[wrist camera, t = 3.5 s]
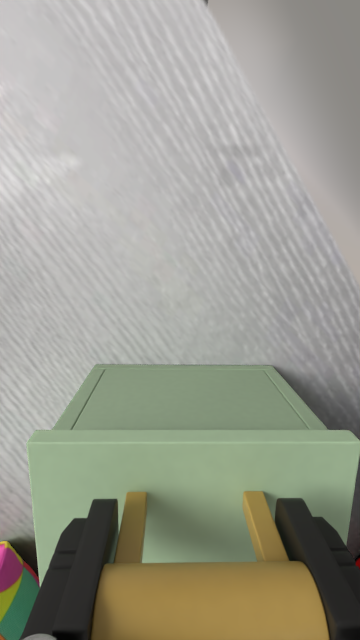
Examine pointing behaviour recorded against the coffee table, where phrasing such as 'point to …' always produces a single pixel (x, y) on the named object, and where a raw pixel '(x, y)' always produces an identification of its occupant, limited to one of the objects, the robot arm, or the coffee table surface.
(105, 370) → the chest
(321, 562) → the robot arm
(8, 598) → the pencil case
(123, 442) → the lid
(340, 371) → the coffee table surface
